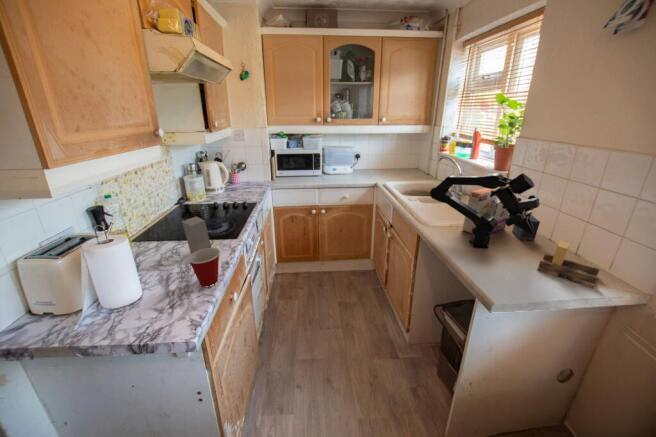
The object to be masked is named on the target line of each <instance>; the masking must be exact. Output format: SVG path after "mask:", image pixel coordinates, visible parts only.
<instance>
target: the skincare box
mask: <svg viewBox="0 0 656 437" xmlns="http://www.w3.org/2000/svg"><path fill="white" fill-rule="evenodd" d="M181 221H182V222H181V223H182V226H183V229H184V233H185V237H186V240H187V244H188V248H189V252H190V254H192V253H194V252H196V251H198V250H202V249H207V248H212V246H211V241H210V237H209V233H208V228H207V225H206V220H203V219H202V218H200V217H199V216H194V217H191V218H188V219H184V220H181Z"/></svg>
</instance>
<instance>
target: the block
mask: <svg viewBox="0 0 656 437" xmlns="http://www.w3.org/2000/svg"><path fill="white" fill-rule="evenodd" d="M569 247H570V243H569V242H566V241H563V240H560V241H559V243H558V245H557V246H556V250H555V252H554V254H553V255H554V257H553V260H552V263H553V264H556V265H559V266H562V264H563V261H564V259H566V257H567V256H566V255H567V253H568V250H569Z"/></svg>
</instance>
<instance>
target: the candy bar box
mask: <svg viewBox="0 0 656 437" xmlns="http://www.w3.org/2000/svg"><path fill="white" fill-rule="evenodd" d="M488 213H489V214H490V215H491V216H494V217H495V219H496V220H497V227H496V228H495V229H494V230H493V231H492V232H490V233H489V234H494V233H497V232H501V231H503V230H506V226H507V225H506V223H505V221H506V219H507V218H508V217H509V216H508V215H509V213H508V211H507V210H506V209H503V204H502V203H501V202H500V200H499V199H498V198H496V200H493V201H491V204H490V208H489V212H488Z"/></svg>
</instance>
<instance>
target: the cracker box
mask: <svg viewBox="0 0 656 437" xmlns="http://www.w3.org/2000/svg"><path fill="white" fill-rule="evenodd" d="M492 190H496V189H489V188H484V187H483V188H480V189H475V190H471V191H470V192H469V197H468V202H467V205H468V206H469V207H471V208H472V209H474V210H475V211H477V212H478V213H481V214H484V213H486V212H487V213H488V212H489V208H490V204H491V201H493V200H496V199H497V196H496V195H494V196H493V197H490V195H491V191H492ZM475 227H476V226H475V225H474V223H473V222H472V221H471V220H470V219H468V218H467V217H465V216H464V221H463V224H462V231H465V232H467V233H469V234H471V235H472V234H473V232H472V229H474V228H475Z"/></svg>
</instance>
